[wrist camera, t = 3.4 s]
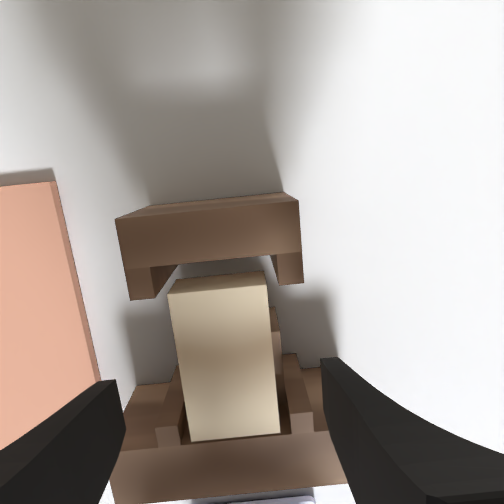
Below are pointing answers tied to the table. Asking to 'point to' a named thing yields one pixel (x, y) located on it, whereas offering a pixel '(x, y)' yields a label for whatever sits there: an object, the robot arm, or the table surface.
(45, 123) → the table surface
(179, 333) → the slab
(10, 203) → the mat
